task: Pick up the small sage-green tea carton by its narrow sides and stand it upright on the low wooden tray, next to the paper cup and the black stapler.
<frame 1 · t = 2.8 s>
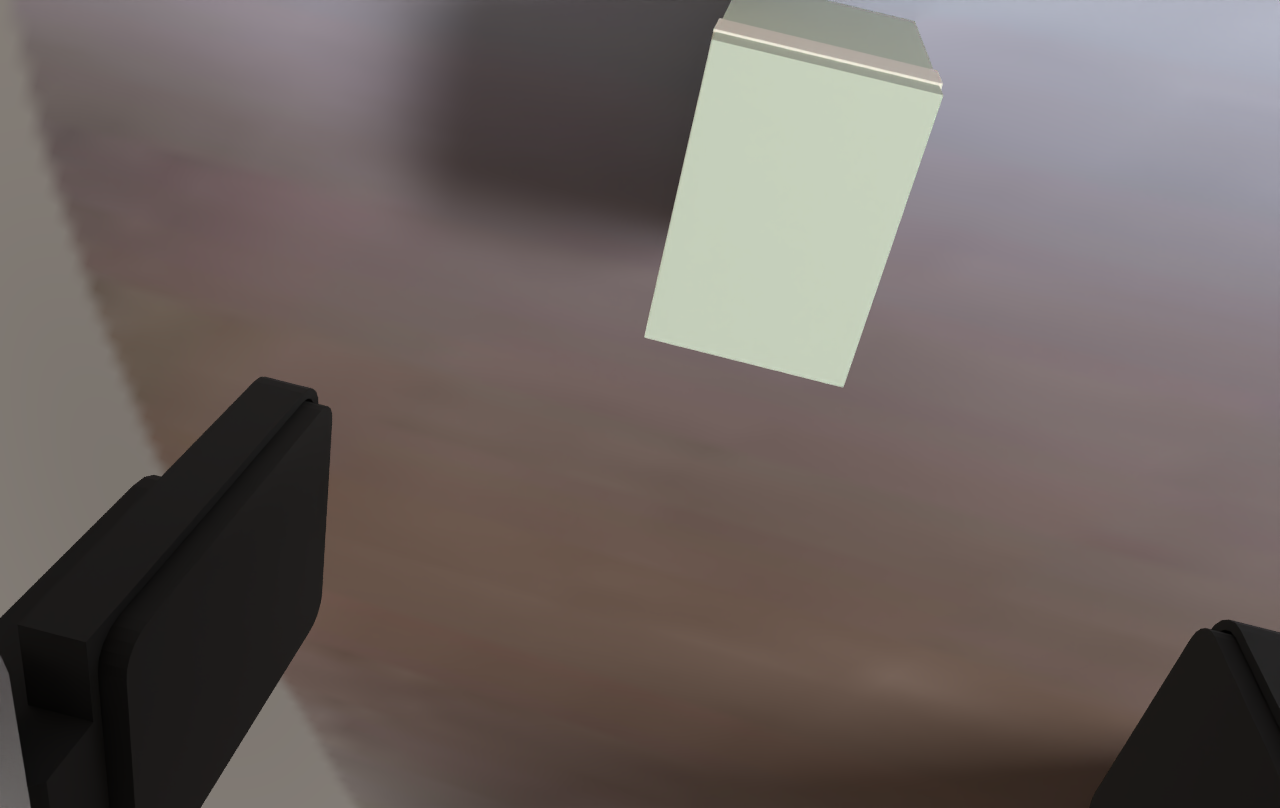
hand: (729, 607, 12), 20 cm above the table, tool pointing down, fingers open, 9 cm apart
carton: (793, 125, 29), on the table
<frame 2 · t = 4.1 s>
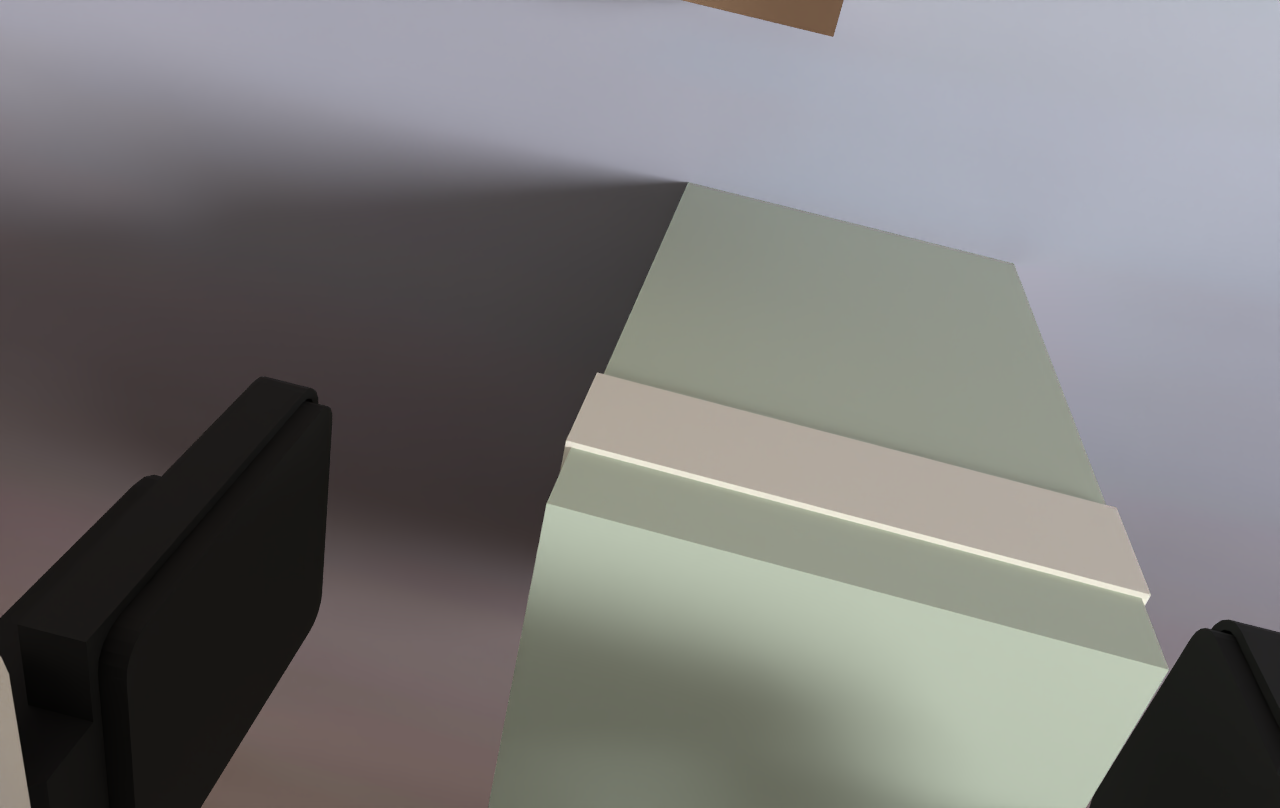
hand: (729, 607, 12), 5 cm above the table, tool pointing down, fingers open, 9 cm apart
carton: (786, 424, 16), on the table
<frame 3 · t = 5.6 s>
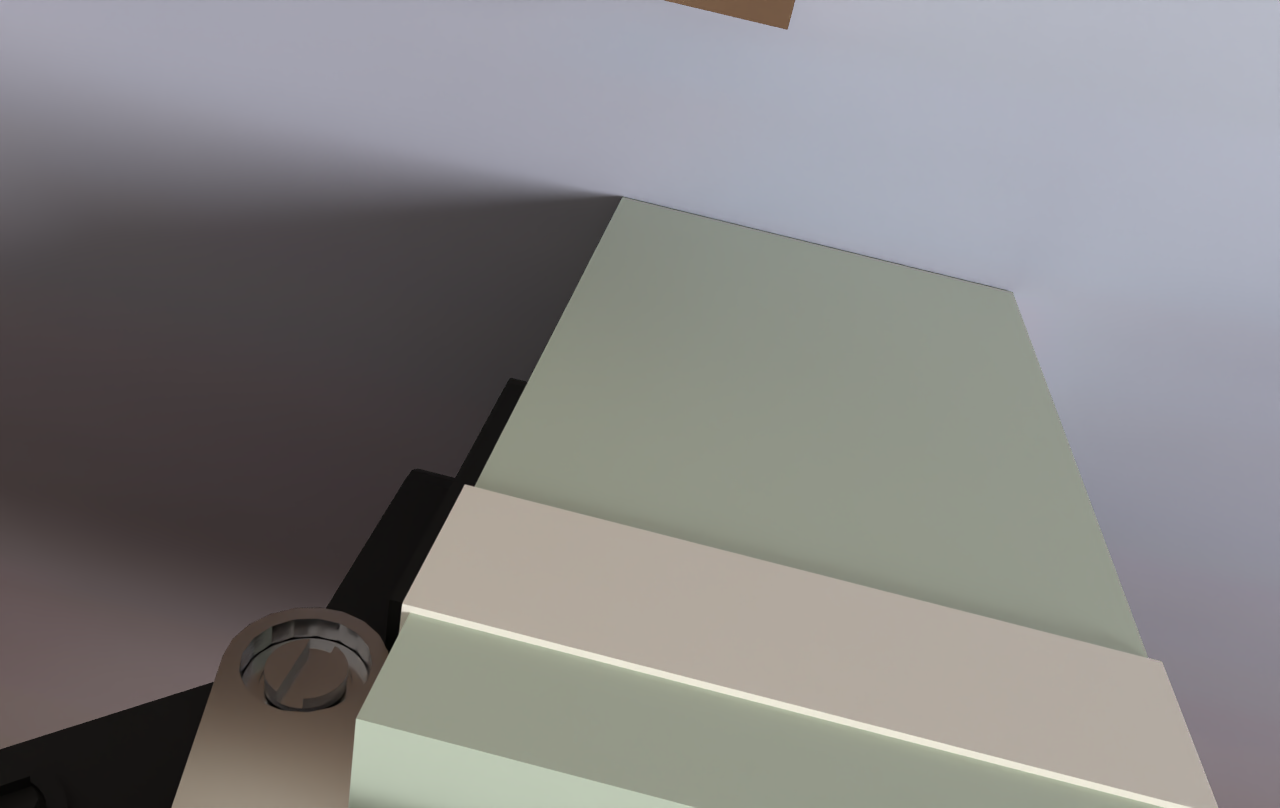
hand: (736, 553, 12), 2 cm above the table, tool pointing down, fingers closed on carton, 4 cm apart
carton: (745, 477, 14), on the table, touching gripper
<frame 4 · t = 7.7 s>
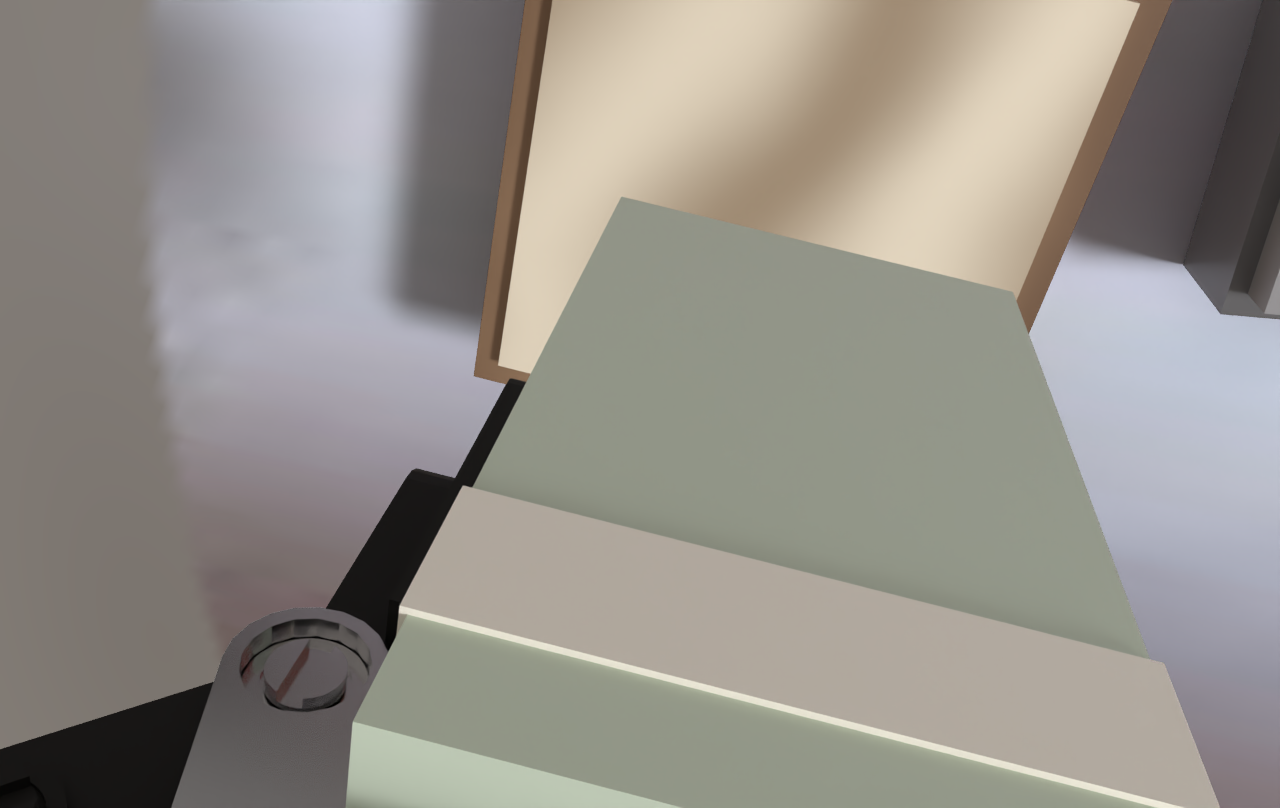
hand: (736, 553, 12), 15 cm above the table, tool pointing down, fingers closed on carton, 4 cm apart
carton: (745, 477, 14), point 14 cm above the table, touching gripper
wooden tray: (783, 162, 26), on the table
when the fingers open (6 cm above the table, at t = 10.1 s): carton stays where it is, resting on wooden tray.
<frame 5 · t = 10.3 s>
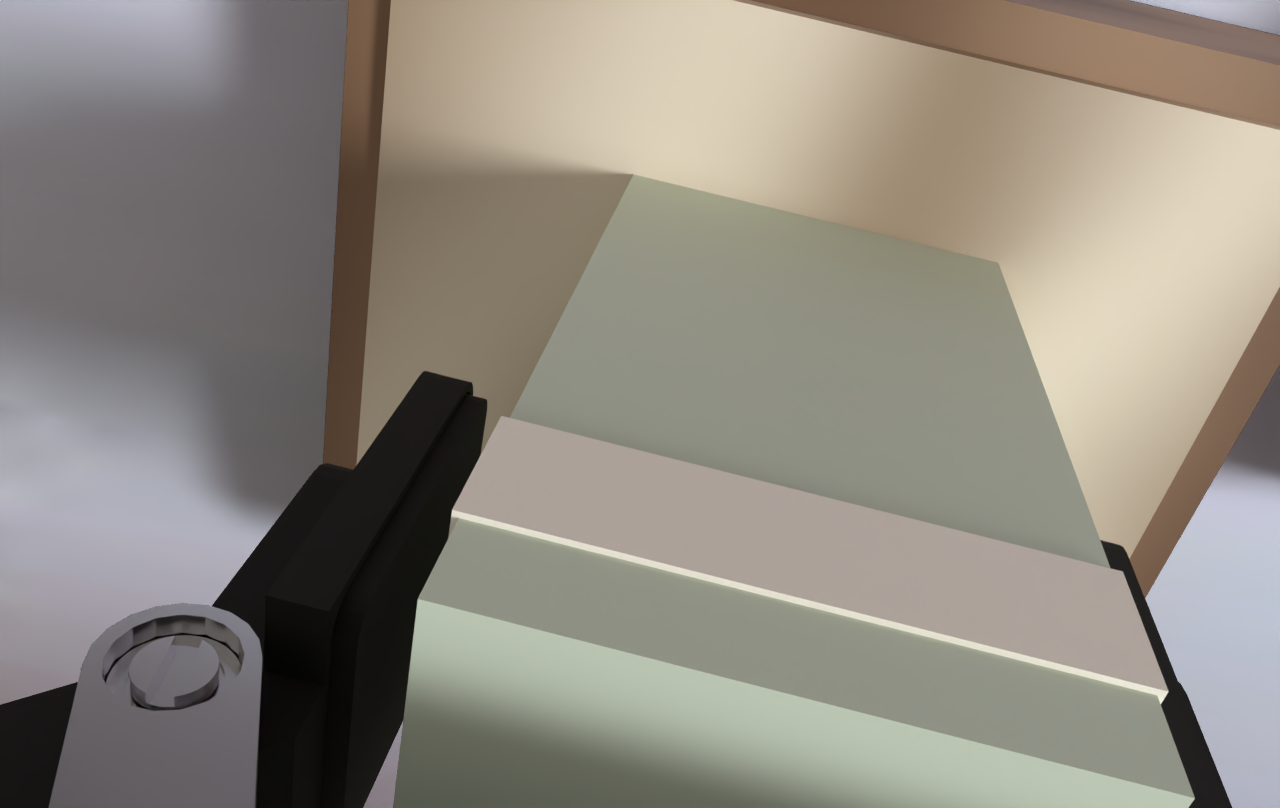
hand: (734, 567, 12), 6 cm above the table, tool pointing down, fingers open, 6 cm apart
carton: (749, 440, 15), point 3 cm above the table, touching wooden tray
wooden tray: (761, 334, 17), on the table
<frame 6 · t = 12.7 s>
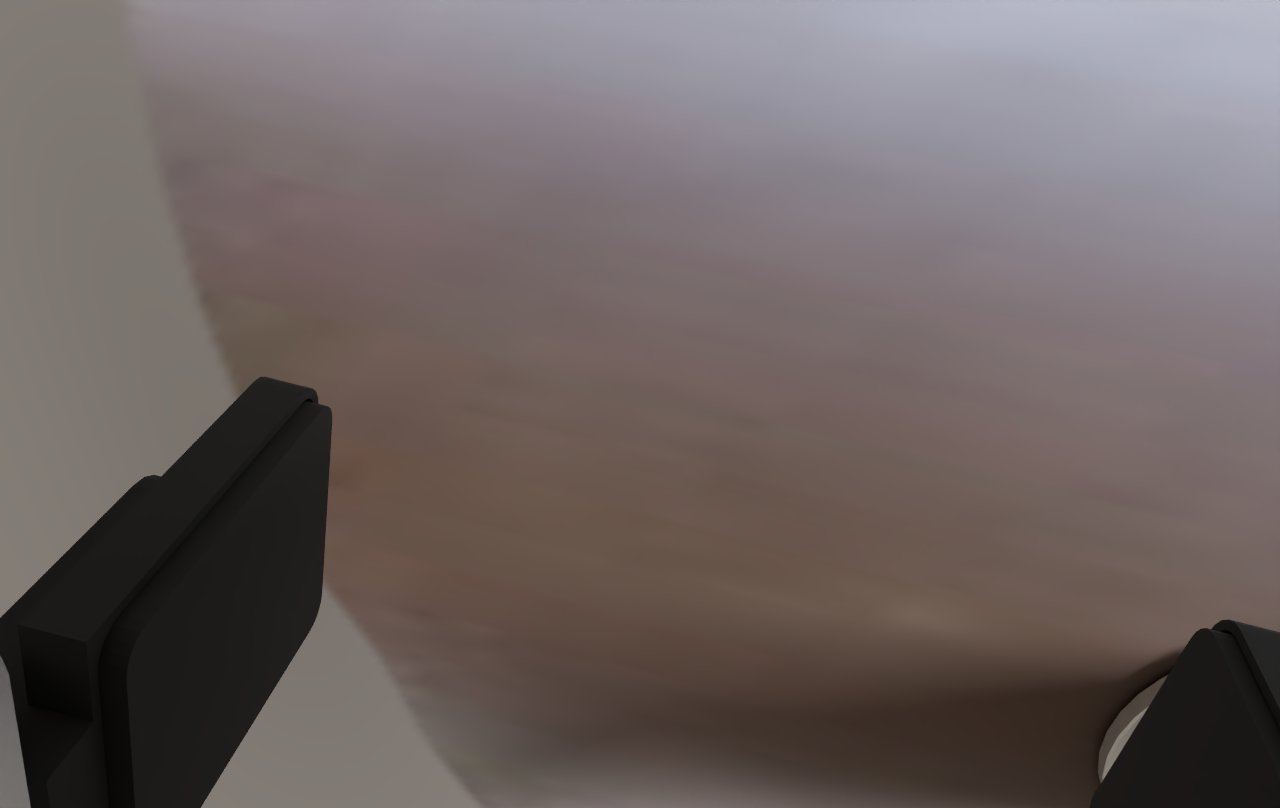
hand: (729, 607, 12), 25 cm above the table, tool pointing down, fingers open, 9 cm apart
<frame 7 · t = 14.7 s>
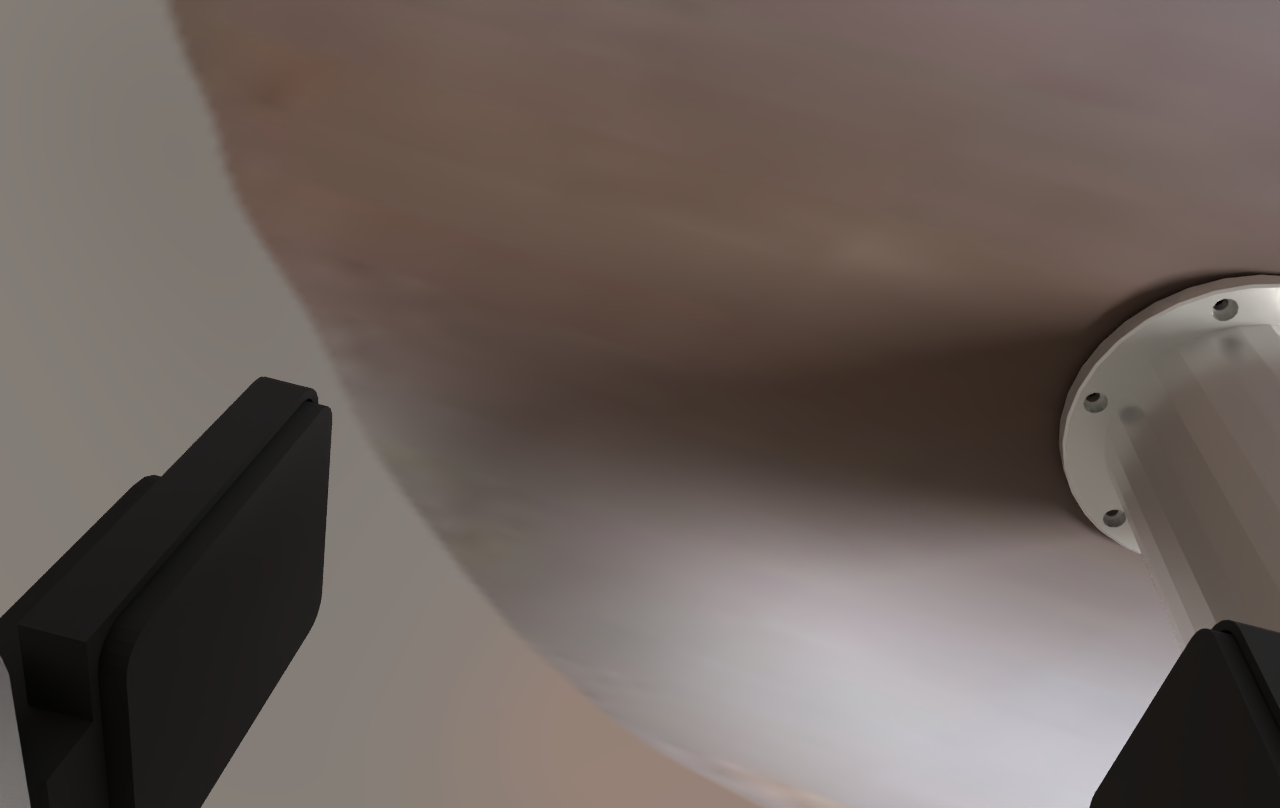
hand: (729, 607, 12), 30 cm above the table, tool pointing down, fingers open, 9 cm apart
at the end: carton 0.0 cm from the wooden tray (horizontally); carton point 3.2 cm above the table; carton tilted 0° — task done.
